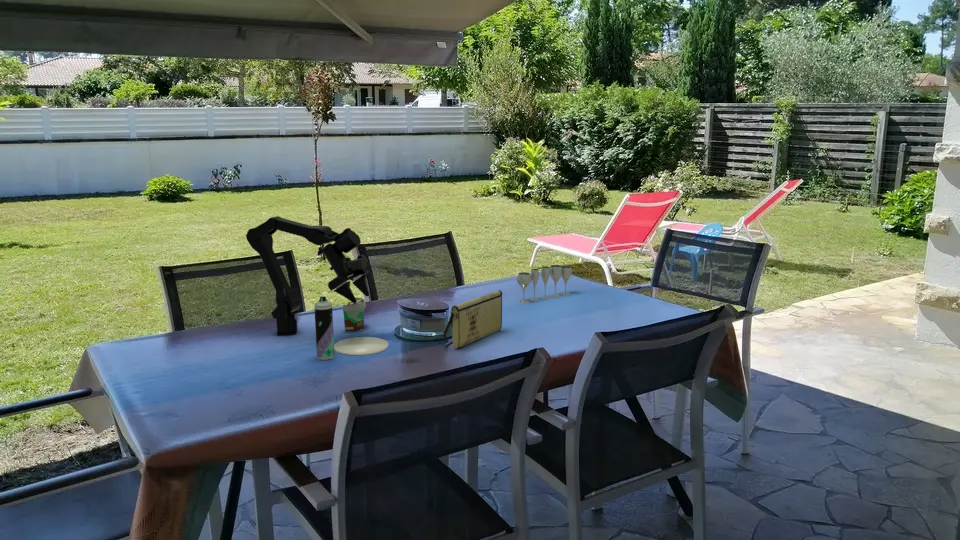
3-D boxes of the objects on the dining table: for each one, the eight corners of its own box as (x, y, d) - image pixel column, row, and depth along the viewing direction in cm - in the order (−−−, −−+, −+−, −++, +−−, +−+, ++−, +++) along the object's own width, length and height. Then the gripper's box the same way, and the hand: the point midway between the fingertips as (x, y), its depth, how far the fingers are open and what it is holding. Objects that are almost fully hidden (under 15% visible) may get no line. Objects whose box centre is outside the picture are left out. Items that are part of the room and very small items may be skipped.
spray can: (318, 361, 229) (315, 299, 225) (315, 355, 234) (312, 295, 230) (336, 358, 231) (333, 297, 227) (332, 353, 236) (329, 293, 232)
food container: (359, 333, 258) (358, 306, 256) (343, 332, 259) (342, 305, 257) (371, 324, 270) (370, 297, 267) (356, 323, 271) (355, 296, 269)
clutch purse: (488, 327, 265) (488, 287, 262) (504, 330, 262) (505, 289, 258) (437, 348, 242) (437, 304, 239) (454, 352, 238) (454, 307, 235)
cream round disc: (335, 357, 232) (335, 355, 232) (332, 340, 249) (331, 339, 249) (391, 352, 237) (391, 351, 237) (384, 336, 254) (384, 335, 254)
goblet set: (565, 292, 317) (565, 262, 314) (574, 294, 312) (574, 264, 310) (514, 301, 301) (514, 270, 298) (522, 304, 297) (523, 272, 294)
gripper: (340, 252, 235) (366, 294, 235) (367, 243, 252) (391, 281, 252) (316, 269, 239) (341, 310, 239) (344, 259, 256) (367, 297, 256)
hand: (361, 299), depth 246 cm, fingers open, 9 cm apart
